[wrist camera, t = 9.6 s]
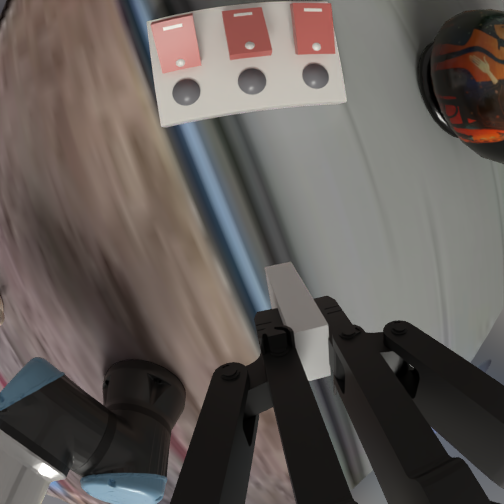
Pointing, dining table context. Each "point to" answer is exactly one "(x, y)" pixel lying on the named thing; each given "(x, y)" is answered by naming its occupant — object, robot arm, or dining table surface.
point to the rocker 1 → (176, 43)
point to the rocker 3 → (312, 28)
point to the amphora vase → (468, 80)
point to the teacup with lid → (1, 312)
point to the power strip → (245, 71)
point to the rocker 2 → (246, 33)
